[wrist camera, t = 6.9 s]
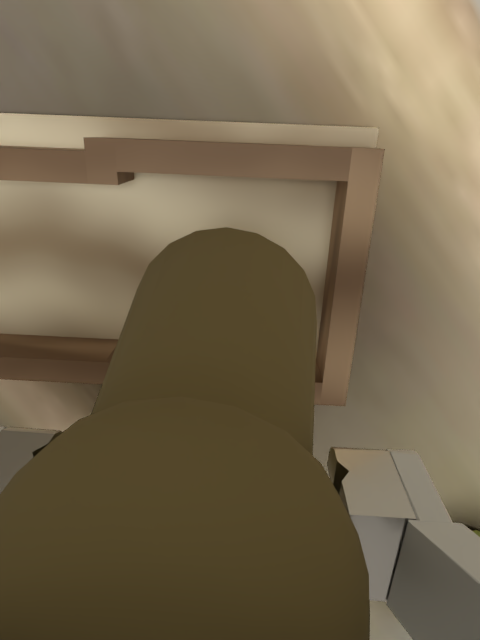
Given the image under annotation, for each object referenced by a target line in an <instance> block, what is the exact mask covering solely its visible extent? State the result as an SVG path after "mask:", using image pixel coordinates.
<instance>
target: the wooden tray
mask: <svg viewBox="0 0 480 640" xmlns="http://www.w3.org/2000/svg"><path fill="white" fill-rule="evenodd" d="M378 132H379V128H377V127H351V126H325V125H299V124H273V123H247V122H221V121H195V120H169V119H143V118H116V117H90V116H64V115H38V114H12V113H0V379H10V380H29V381H48V382H67V383H86V384H102V383H103V381H104V378H105V375H106V373H107V370H108V367H109V364H110V362H111V359H112V356H113V353H114V351H115V348H116V345H117V342H118V340H119V337H120V334H121V331H122V329H123V326H124V323H125V321H126V318H127V315H128V312H129V310H130V307H131V304H132V301H133V299H134V296H135V293H136V290H137V288H138V286H139V284H140V282H141V279H142V277H143V275H144V273H145V271H146V269H147V267H148V265H149V263H150V262H151V261H152V260H153V259H154V258H155V257H156V256H157V255H158V254H159V253H160V252H161V251H162V250H163V249H164V248H165V247H166V246H167V245H168V244H170V243H172V242H174V241H176V240H178V239H180V238H182V237H184V236H186V235H189V234H191V233H193V232H195V231H199V230H208V229H216V228H224V227H228V228H233V229H239V230H244V231H249V232H254V233H258V234H260V235H261V236H263V237H265V238H267V239H269V240H270V241H272V242H274V243H276V244H278V245H279V246H281V247H283V248H284V249H285V250H286V251H287V252H288V253H289V254H290V255H291V256H292V257H293V258H294V260H295V261H296V262H297V263H298V264H299V265H300V266H301V267H302V268H303V269H304V271H305V273H306V276H307V278H308V280H309V283H310V285H311V287H312V290H313V292H314V294H315V300H316V315H317V338H316V367H315V397H314V404H315V405H334V406H345V404H346V398H347V391H348V385H349V378H350V372H351V365H352V359H353V352H354V346H355V339H356V333H357V326H358V320H359V313H360V307H361V300H362V293H363V287H364V280H365V274H366V267H367V261H368V254H369V248H370V241H371V235H372V228H373V222H374V215H375V209H376V202H377V196H378V189H379V183H380V176H381V169H382V163H383V156H384V150H385V149H377V148H376V146H377V139H378Z"/></svg>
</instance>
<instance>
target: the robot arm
mask: <svg viewBox="0 0 480 640" xmlns="http://www.w3.org/2000/svg"><path fill="white" fill-rule="evenodd" d="M61 433H63V432H61V431H56V430H44V429H32V428H20V427H3V426H0V494H1V492H2V491H3V490H4V488H5V487H6V486H7V484H8V483H9V482H10V480H11V479H12V478H13V476H14V475H15V474H16V473H17V472H18V471H19V470H20V469H21V468H22V467H23V466H25V465H26V464H27V463H28V462H29V461H30V460H31V459H32V458H33V457H35V456H36V455H37V454H38V453H39V452H40V451H41V450H42V449H44V448H45V447H46V446H47V445H48V444H49V443H50V442H51V441H52V440H54V439H55V438H56V437H58V436H59V435H60V434H61ZM327 466H328V471H329V477H330V480H331V482H332V483H333V485H334V487H335V489H336V490H337V492H338V494H339V496H340V498H341V500H342V502H343V504H344V506H345V508H346V510H347V512H348V514H349V516H350V518H351V520H352V522H353V524H354V526H355V528H356V530H357V532H358V534H359V538H360V542H361V546H362V550H363V554H364V558H365V561H366V565H367V569H368V573H369V600H375V601H385V602H387V606H388V607H389V608H390V610H391V611H392V612H393V614H394V615H395V616H396V618H397V619H398V620H399V622H400V623H401V624H402V626H403V627H404V628H405V629H406V631H407V632H408V633H409V635H410V636H411V637H412V639H413V640H480V537H479V536H478V535H477V534H475V533H474V532H473V531H471V530H470V529H469V528H468V527H466V526H465V525H464V524H462V523H453V522H452V520H451V518H450V516H449V514H448V512H447V510H446V508H445V506H444V504H443V502H442V500H441V498H440V496H439V494H438V492H437V490H436V488H435V486H434V484H433V482H432V480H431V478H430V476H429V474H428V471H427V469H426V467H425V465H424V463H423V461H422V459H421V457H420V455H419V454H418V453H417V452H416V451H415V450H397V449H386V450H379V449H360V448H341V447H331V449H330V452H329V456H328V462H327Z"/></svg>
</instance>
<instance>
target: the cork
mask: <svg viewBox="0 0 480 640" xmlns="http://www.w3.org/2000/svg"><path fill="white" fill-rule="evenodd" d="M316 338H317V315H316V300H315V294H314V292H313V290H312V287H311V285H310V283H309V280H308V278H307V276H306V273H305V271H304V269H303V268H302V267H301V266H300V265H299V264H298V263H297V262H296V261H295V260H294V258H293V257H292V256H291V255H290V254H289V253H288V252H287V251H286V250H285V249H284V248H283V247H281V246H279V245H278V244H276V243H274V242H272V241H270V240H269V239H267V238H265V237H263V236H261V235H260V234H258V233H254V232H249V231H244V230H239V229H233V228H228V227H224V228H216V229H208V230H199V231H195V232H193V233H191V234H189V235H186V236H184V237H182V238H180V239H178V240H176V241H174V242H172V243H170V244H168V245H167V246H166V247H165V248H164V249H163V250H162V251H161V252H160V253H159V254H158V255H157V256H156V257H155V258H154V259H153V260H152V261H151V262H150V263H149V265H148V267H147V269H146V271H145V273H144V275H143V277H142V279H141V282H140V284H139V286H138V288H137V290H136V293H135V296H134V299H133V301H132V304H131V307H130V310H129V312H128V315H127V318H126V321H125V323H124V326H123V329H122V331H121V334H120V337H119V340H118V342H117V345H116V348H115V351H114V353H113V356H112V359H111V362H110V364H109V367H108V370H107V373H106V375H105V378H104V381H103V383H102V386H101V389H100V392H99V394H98V397H97V400H96V403H95V405H94V408H93V411H92V414H91V415H90V416H87V417H85V418H82V419H80V420H78V421H77V422H75V423H74V424H73V425H72V426H70V427H69V428H68V429H67V430H65V431H64V432H63V433H61V434H60V435H59V436H58V437H56V438H55V439H54V440H52V441H51V442H50V443H49V444H48V445H47V446H46V447H45V448H44V449H42V450H41V451H40V452H39V453H38V454H37V455H36V456H35V457H33V458H32V459H31V460H30V461H29V462H28V463H27V464H26V465H25V466H23V467H22V468H21V469H20V470H19V471H18V472H17V473H16V474H15V475H14V476H13V478H12V479H11V480H10V482H9V483H8V484H7V486H6V487H5V488H4V490H3V491H2V492H1V494H0V640H369V632H370V605H369V573H368V569H367V565H366V561H365V558H364V554H363V550H362V546H361V542H360V538H359V534H358V532H357V530H356V528H355V526H354V524H353V522H352V520H351V518H350V516H349V514H348V512H347V510H346V508H345V506H344V504H343V502H342V500H341V498H340V496H339V494H338V492H337V490H336V489H335V487H334V485H333V483H332V482H331V480H330V478H329V477H328V475H327V473H326V471H325V470H324V468H323V466H322V464H321V463H320V462H319V461H318V460H317V459H315V458H314V457H313V426H314V397H315V367H316Z"/></svg>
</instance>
